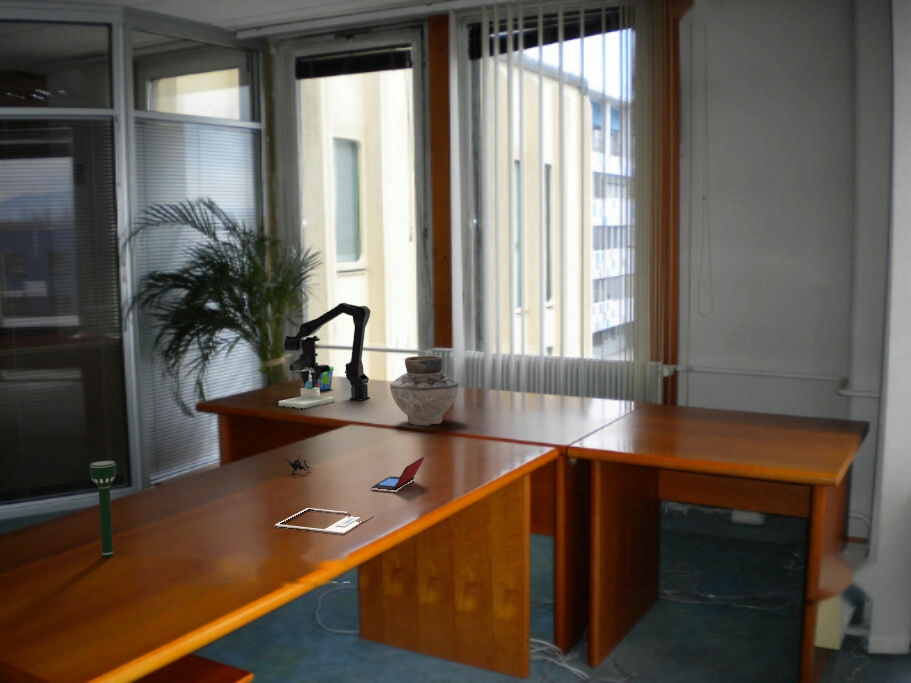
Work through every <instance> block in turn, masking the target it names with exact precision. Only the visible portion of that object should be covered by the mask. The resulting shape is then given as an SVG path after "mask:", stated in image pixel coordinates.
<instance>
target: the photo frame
mask: <svg viewBox="0 0 911 683" xmlns="http://www.w3.org/2000/svg"><path fill="white" fill-rule="evenodd" d="M308 509H313V510H322V511H330V512H341V513H342V512H343V513H347V512H348V511H341V510H332V509H331V510H330V509H322V508H313V507H311V508H310V507H307V508H304V509H303V510H301V511H299V512H297V513H295V514H293V515H291V516H289V517H287V518H286V519H284V520H282V521H279V522H278V523H275V524H274V527H275V526H278V527H277V528H279V527H287V528H286V529H288V528H299V529H309V530H316V531H324V532H332V533H343V534H344V533H346V532H347V531H349V530H350V529H352V528H353V527H355V526H356V525H358V524H359V522H356V520H358V519H359V518H360V517H353V516H351V517H349V518H348V516H349V515H346V516H345V517H344V518H341V519H340V520H338V521H337V522H335V523H332V524H331V525H330V526H328V527H326V528H324V529H323V528H314V527H306V526H297V525H287V524H283V523H282V522H284V521H285V522H287V521H289V520H291V519H292V517H293V518H295V517H297V516H299V515H300V513H301V514H303V513H304V511H305V512H306V511H309V510H308ZM302 512H303V513H302ZM298 514H299V515H298ZM296 515H297V516H296ZM294 516H295V517H294ZM290 518H291V519H290ZM288 519H289V520H288ZM286 520H287V521H286ZM285 522H284V523H285ZM360 522H361V521H360ZM280 523H282V524H280ZM346 534H347V533H346Z"/></svg>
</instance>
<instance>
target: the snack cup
mask: <svg viewBox="0 0 911 683" xmlns="http://www.w3.org/2000/svg"><path fill="white" fill-rule="evenodd" d="M329 367H330V371H328V372H323V373H322V374H321V376H320V377H319V379H318V382H317V384H316V386H315V387H316V388H320V391H328V390H327V389H329V390H331V388H332V383H333V374H334V370H335V369H334V366H330V365H329ZM311 372H313V370H310V373H311Z"/></svg>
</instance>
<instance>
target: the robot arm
mask: <svg viewBox="0 0 911 683" xmlns="http://www.w3.org/2000/svg"><path fill="white" fill-rule="evenodd" d="M342 314H345V315H347V316H350V317H352V322H353V326H354V329H353V330H354V331H353V339H352V340H353V341H352V347H351V355H350V356H351V358H350V361H349V362H347V363H345V371H344V374H345V378H346V379H347V380H348V381H349V383H350V385H351V388H350V391H351V392H350V393H351V394H350V395H351V397H349V399H350V400H356V399H363V400H366V399H365V398H368V399H370V398H371V396H368V395H369V392H368V390H369V389H368V388H369V387H368V386H369V384H368V382H369V380H370V378H369V377H368V376H367V375H366V374H365V372H364V364H363V351H364V341H365V333H366V327H367V325H368V323H369V319H370V316H371V309H370V308H369V307H368V306H366V305H355V304H350V303H346V302H340V303H339V304H337V305H336V306H334V307H333V308H331V309H330V310H328V311H326V312H325V313H323V314H322V315H320V316H319V317H317V318H314V319H312V320H309V321H306V322H304V323H301V324H300V326H299V330H298V332H297V334H296V335H286V336H285V339H284V344H283V348H284V351H285V352H300V351H301V352H302V353H301V354H299V358H298V359H296V360H294V361H293V362H292V363H290V365H289V367H288V368H289V371H293V372H295V373H297V374H298V375H300V378H301V380H302V382H303V385H304V388H306V386H305V384H306V382H307V381H309V379H310V376H311V381H312V387H313V388H315V386H316V384H317V382H318V379H319V377H320V376H321V374H322V373H323V372H328V371H330V367H329V366H330V365H329V364H319V362H317V357H318V356H319V354H318V353H316V351H317V350H316V342H320V340H321V339H320V338H319V337H318V336H317V334H316V333H317V332H318V331H320V329H321V328H322V327H323V326H324V325H326V324H328V323H330V322H331V321H332V320H334V319H335V318H338V317H339V316H340V315H342ZM315 334H316V335H315ZM310 336H311V337H310ZM304 338H305V339H304ZM310 370H313V372H311V371H310Z"/></svg>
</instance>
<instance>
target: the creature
mask: <svg viewBox="0 0 911 683" xmlns="http://www.w3.org/2000/svg"><path fill="white" fill-rule="evenodd" d="M301 457H302V454H300V456H299V457H298V458H297V459H296V460H294V461H293V462H292V461H290V460H289V459H287V458H284V459H285V460H286V461H287V462H288V464H289V466H290V467H291V468H292V472H291V475H292V476H294V474H295V472H297V470H299V471H301V470H302V471H305V472H306V473H307V474H308V475H309V474H312V472H311V470H313V468H312V467H310V466H309V465H307V464H306V462H307V460H304V458H302V459H301V461H300V458H301ZM303 460H304V461H303ZM301 462H303V464H304V465H303V464H302V463H301ZM310 469H311V470H310ZM308 471H309V472H308ZM293 473H294V474H293Z"/></svg>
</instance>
